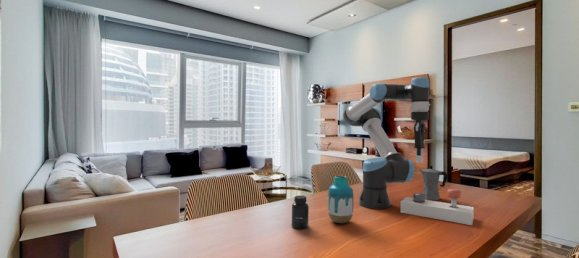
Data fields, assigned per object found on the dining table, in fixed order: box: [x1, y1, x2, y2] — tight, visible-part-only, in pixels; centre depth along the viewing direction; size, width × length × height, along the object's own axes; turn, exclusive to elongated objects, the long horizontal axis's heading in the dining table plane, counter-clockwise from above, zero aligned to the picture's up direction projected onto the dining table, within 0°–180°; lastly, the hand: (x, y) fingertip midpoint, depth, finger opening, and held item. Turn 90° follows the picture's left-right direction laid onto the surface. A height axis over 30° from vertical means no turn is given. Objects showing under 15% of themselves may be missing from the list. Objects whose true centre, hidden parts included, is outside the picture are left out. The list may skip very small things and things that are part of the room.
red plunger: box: [447, 188, 462, 209], centre depth 122 cm, size 5×5×8 cm
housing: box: [400, 196, 475, 226], centre depth 127 cm, size 28×10×5 cm, turn 54°
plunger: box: [412, 192, 426, 203], centre depth 131 cm, size 5×5×8 cm
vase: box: [327, 175, 354, 224], centre depth 118 cm, size 11×11×19 cm
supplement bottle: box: [291, 195, 310, 230], centre depth 113 cm, size 7×7×12 cm
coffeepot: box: [419, 165, 449, 201], centre depth 154 cm, size 15×9×18 cm, turn 37°
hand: (419, 162), depth 130 cm, fingers closed
